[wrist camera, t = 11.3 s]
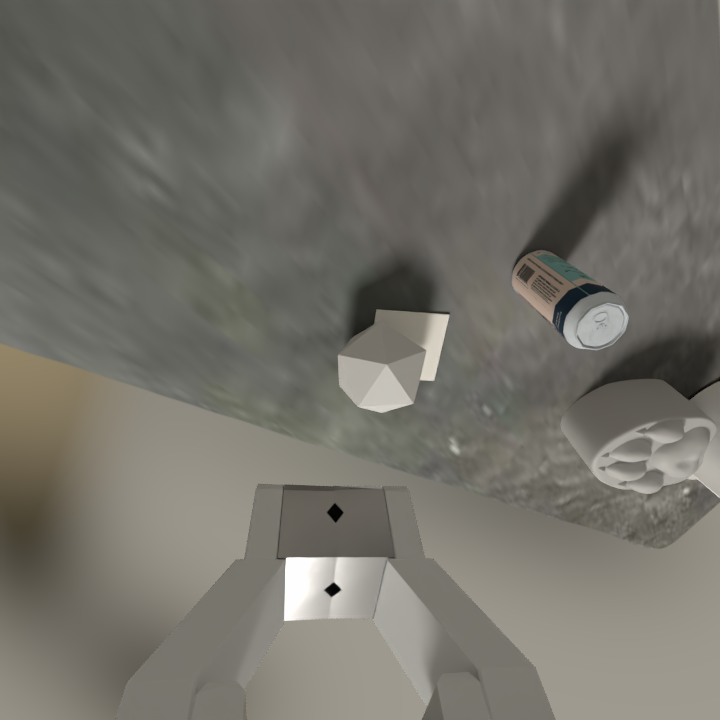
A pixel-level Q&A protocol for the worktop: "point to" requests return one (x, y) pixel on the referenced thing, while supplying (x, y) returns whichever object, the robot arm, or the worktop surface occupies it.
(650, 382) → the lumpy-topped squat cylinder
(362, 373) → the die
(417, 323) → the pad
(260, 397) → the worktop surface
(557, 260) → the beer can
